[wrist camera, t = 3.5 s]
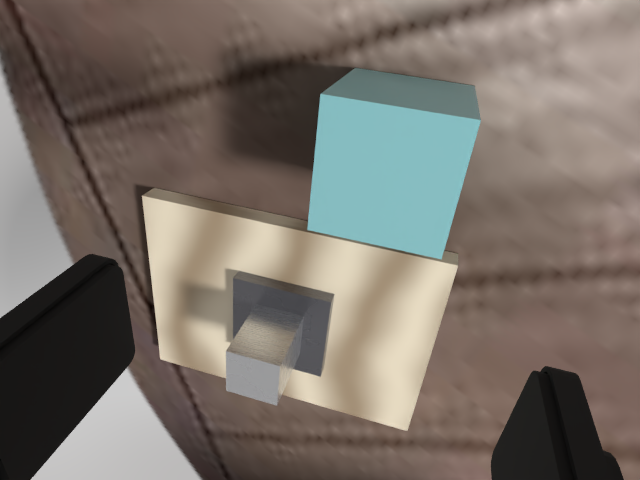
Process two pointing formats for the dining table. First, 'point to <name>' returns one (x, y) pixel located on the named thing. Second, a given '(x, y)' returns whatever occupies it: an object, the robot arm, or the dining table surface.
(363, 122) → the teal block
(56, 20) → the dining table surface
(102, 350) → the robot arm
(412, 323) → the base board
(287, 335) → the post
